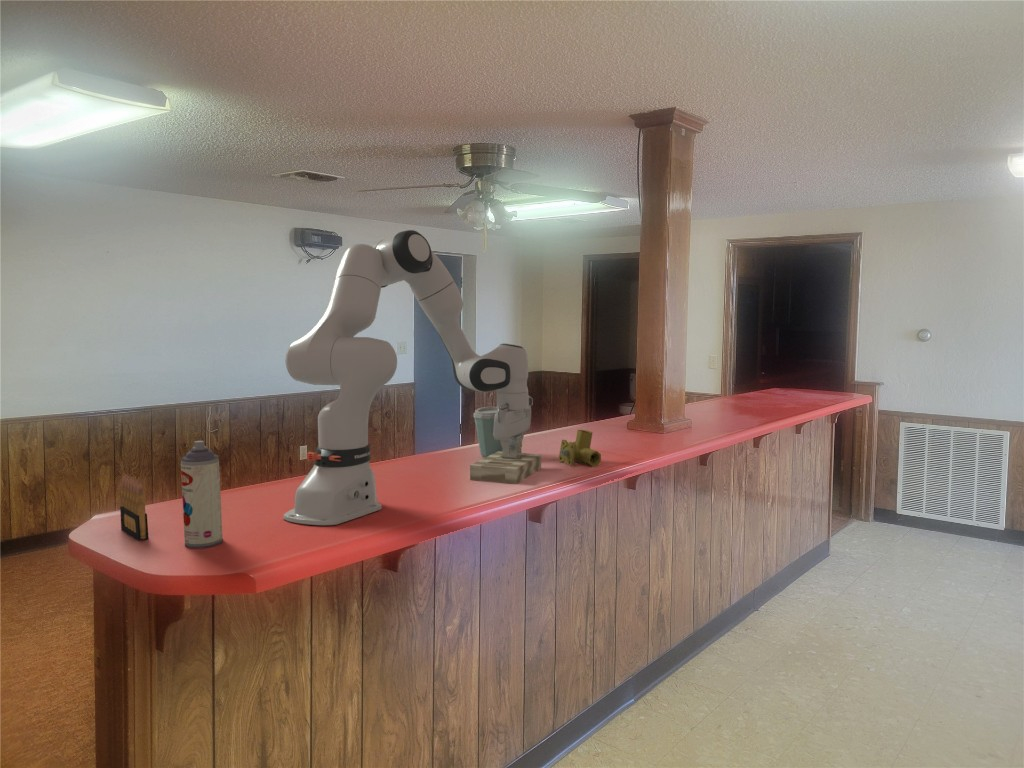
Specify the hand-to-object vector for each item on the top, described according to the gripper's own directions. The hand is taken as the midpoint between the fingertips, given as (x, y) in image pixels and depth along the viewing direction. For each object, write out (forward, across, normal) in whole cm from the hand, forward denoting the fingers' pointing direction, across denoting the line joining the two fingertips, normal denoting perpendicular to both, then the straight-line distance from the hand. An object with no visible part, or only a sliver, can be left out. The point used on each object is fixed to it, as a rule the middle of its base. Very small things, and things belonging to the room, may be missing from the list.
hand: (512, 450), depth 205 cm
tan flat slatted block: (+6, -4, 0) cm, 7 cm away
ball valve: (+6, +16, -14) cm, 22 cm away
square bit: (+6, 0, 0) cm, 6 cm away
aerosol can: (+6, -80, +34) cm, 88 cm away
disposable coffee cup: (+6, +16, +13) cm, 21 cm away
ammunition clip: (+6, -81, +51) cm, 96 cm away
